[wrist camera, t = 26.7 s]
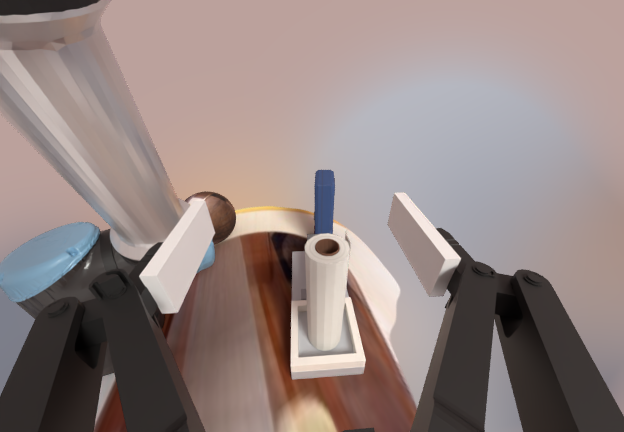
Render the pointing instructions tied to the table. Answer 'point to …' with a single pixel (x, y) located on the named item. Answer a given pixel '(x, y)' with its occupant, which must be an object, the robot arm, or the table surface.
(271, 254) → the table surface
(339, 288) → the paper towel roll
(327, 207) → the electronic device
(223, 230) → the wooden sphere
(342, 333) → the board
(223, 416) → the table surface
